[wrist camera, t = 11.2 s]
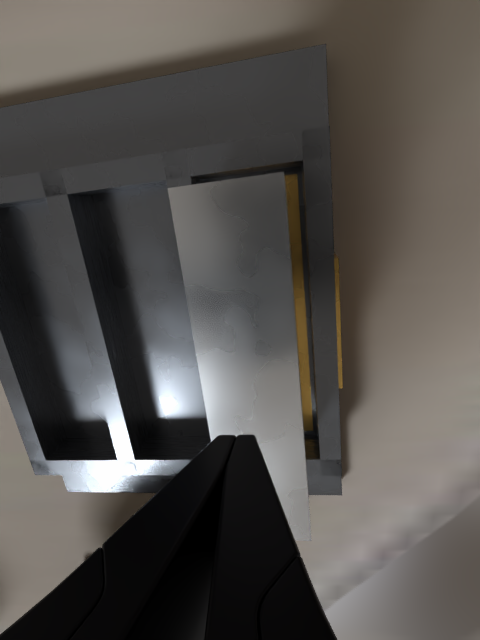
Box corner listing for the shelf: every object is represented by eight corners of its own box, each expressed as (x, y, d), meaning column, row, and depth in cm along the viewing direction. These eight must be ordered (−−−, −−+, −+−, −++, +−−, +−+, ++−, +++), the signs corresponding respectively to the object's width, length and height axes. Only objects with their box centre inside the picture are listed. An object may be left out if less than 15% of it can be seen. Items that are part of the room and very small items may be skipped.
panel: (303, 422, 19) (311, 541, 12) (248, 423, 19) (227, 537, 13) (286, 186, 15) (283, 171, 8) (218, 195, 15) (167, 188, 9)
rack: (339, 482, 21) (347, 525, 18) (76, 480, 24) (47, 517, 21) (323, 54, 14) (331, 17, 11) (-39, 123, 17) (-104, 108, 14)
